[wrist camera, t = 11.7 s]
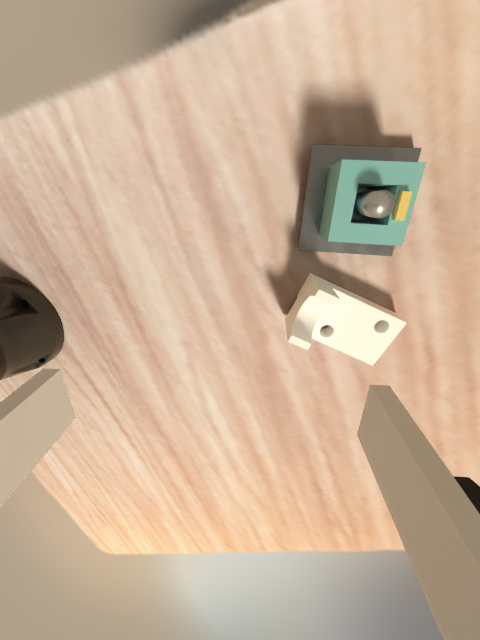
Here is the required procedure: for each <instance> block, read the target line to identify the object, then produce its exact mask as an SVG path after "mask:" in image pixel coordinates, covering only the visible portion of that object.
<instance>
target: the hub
mask: <svg viewBox="0 0 480 640" xmlns="http://www.w3.org/2000/svg"><path fill="white" fill-rule="evenodd" d="M425 164H426V162H398V161H371V160H344V159H342V160H340V161H339V162H337V163H336V164H334V165H332V166H331V167H330V168H329V174H328V180H327V187H326V193H325V199H324V205H323V212H322V218H321V224H320V230H319V235H320V236H321V237H323V238H324V239H325V240H327V241H330V242H345V243H361V244H377V245H393V246H402V245H403V241H404V238H405V234H406V231H407V227H408V224H409V220H410V216H411V213H412V209H413V206H414V202H415V199H416V195H417V192H418V188H419V185H420V181H421V178H422V174H423V171H424V167H425ZM358 187H364V188H375V191H379V190H387V191H390V192H391V193H392V194H393V195H394V197H395V206H394V208H393V210H392V211H391V213H390V214H388V215H387V216H385V217H383V218H374V217H369V218H368V221H358V220H351V218H352V214H353V209H354V204H355V199H356V194H357V189H358Z"/></svg>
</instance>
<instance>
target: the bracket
mask: <svg viewBox="0 0 480 640" xmlns="http://www.w3.org/2000/svg"><path fill="white" fill-rule="evenodd" d="M285 322H286V330H287V339H288V342H290V343H292V344H294V345H297V346H299V347H301V348H304V349H306V350H308V349H309V347H310V346H311V338H312V339H314V340H316V341H318V342H321V343H323V344H325V345H327V346H330V347H332V348H334V349H336V350H339V351H341V352H343V353H345V354H348V355H350V356H352V357H354V358H357V359H359V360H361V361H363V362H366V363H368V364H370V365H372V366H373V365H374V363H375V362H376V361H377V360H378V358H379V357H380V356H381V355H382V353H383V352H384V351H385V350H386V348H387V347H388V346H389V345H390V343H391V342H392V341H393V340H394V338H395V337H396V336H397V334H398V333H399V332H400V331H401V329H402V328H403V327H404V326H405V324H406V323H407V322H405V321H404V320H403V319H402V318H401V317H400V316H399V315H398V314H396V313H395V312H393V311H391V310H389V309H387V308H384V307H382V306H380V305H378V304H376V303H374V302H371V301H369V300H367V299H365V298H363V297H361V296H359V295H356V294H354V293H352V292H350V291H348V290H346V289H344V288H341V287H339V286H337V285H335V284H333V283H331V282H329V281H326V280H324V279H322V278H320V277H318V276H316V275H314V274H311V273H310V274H309V275H308V277H307V279H306V281H305V282H304V284H303V286H302V288H301V290H300V291H299V293H298V295H297V299H296V301H295V303H294V304H293V306H292V308H291V310H290V311H289V313H288V315H287V317H286V319H285ZM325 325H329V326H328V327H327V328H325V329H321V328H322V327H323V326H325Z"/></svg>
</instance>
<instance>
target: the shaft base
mask: <svg viewBox="0 0 480 640" xmlns="http://www.w3.org/2000/svg"><path fill="white" fill-rule="evenodd" d="M420 152H421V148H404V147H377V146H349V145H321V144H313V145H312V146H311V150H310V158H309V166H308V173H307V181H306V188H305V196H304V203H303V211H302V219H301V226H300V234H299V241H298V250H305V251H321V252H336V253H351V254H367V255H382V256H392V254H393V250H394V246H393V245H377V244H361V243H345V242H330V241H327V240H325V239H324V238H323V237H321V236H320V235H319V230H320V224H321V218H322V212H323V205H324V199H325V193H326V187H327V180H328V174H329V168H330V167H331V166H332V165H334V164H336V163H337V162H339V161H340V160H342V159H344V160H371V161H398V162H418V159H419V155H420ZM394 206H395V197H394V195H393V194H392V193H391V192H390V191H387V190H379V191H375V188H364V187H358V189H357V194H356V199H355V204H354V209H353V214H352V218H351V220H358V221H368V218H369V217H374V218H383V217H385V216H387V215H388V214H390V213H391V211H392V210H393V208H394Z"/></svg>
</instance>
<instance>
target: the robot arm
mask: <svg viewBox="0 0 480 640" xmlns="http://www.w3.org/2000/svg"><path fill="white" fill-rule="evenodd" d="M63 342H64V331H63V326H62V323H61V320H60V318H59V316H58V314H57V312H56V311H55V309H54V308H53V306H52V305H51V304H50V303H49V301H48V300H47V299H46V298H45V297H44V296H43V295H41V294H40V293H39V292H38V291H36V290H35V289H34V288H32V287H30V286H29V285H27V284H25V283H23V282H21V281H18V280H15V279H11V278H5V277H0V380H2V379H5V378H8V377H11V376H14V375H17V374H20V373H24V372H27V371H30V370H33V369H36V368H39V367H41V366H43V365H45V364H46V363H48V362H49V361H50V360H52V359H53V358H54V357H56V356H57V355H58V354H59V352H60V351H61V349H62V346H63ZM74 419H75V415H74V411H73V408H72V405H71V402H70V398H69V395H68V392H67V389H66V385H65V382H64V379H63V376H62V372H61V369H42V370H41V371H40V372H39V373H37V374H36V375H35V376H34V377H32V378H31V379H30V380H28V381H27V382H26V383H25V384H23V385H22V386H21V387H20V388H18V389H17V390H16V391H14V392H13V393H12V394H11V395H9V396H8V397H7V398H5V399H4V400H3V401H2V402H0V507H1V506H2V505H3V504H4V503H5V501H6V500H7V499H8V498H9V497H10V496H11V494H12V493H13V492H14V491H15V490H16V488H17V487H18V486H19V485H20V484H21V482H22V481H23V480H24V479H25V478H26V476H27V475H28V474H29V473H30V472H31V470H32V469H33V468H34V467H35V466H36V465H37V463H38V462H39V461H40V460H41V459H42V457H43V456H44V455H45V454H46V453H47V451H48V450H49V449H50V448H51V447H52V445H53V444H54V443H55V442H56V441H57V440H58V438H59V437H60V436H61V435H62V434H63V432H64V431H65V430H66V429H67V428H68V426H69V425H70V424H71V423H72V422H73V420H74ZM357 435H358V438H359V440H360V442H361V445H362V447H363V450H364V452H365V454H366V457H367V459H368V462H369V464H370V466H371V469H372V471H373V473H374V476H375V478H376V481H377V483H378V485H379V488H380V490H381V492H382V495H383V497H384V500H385V502H386V504H387V507H388V509H389V512H390V514H391V516H392V519H393V521H394V523H395V526H396V528H397V531H398V533H399V535H400V538H401V540H402V542H403V545H404V547H405V550H406V552H407V554H408V557H409V559H410V561H411V564H412V566H413V569H414V571H415V573H416V576H417V578H418V581H419V583H420V585H421V588H422V590H423V592H424V595H425V597H426V599H427V602H428V604H429V607H430V609H431V611H432V614H433V616H434V619H435V621H436V623H437V626H438V628H439V631H440V633H441V635H442V637H443V640H480V487H479V486H478V485H477V484H476V483H475V482H474V481H472V480H471V479H470V478H468V477H453V475H452V474H451V473H450V471H449V470H448V468H447V467H446V465H445V464H444V463H443V461H442V460H441V458H440V457H439V456H438V454H437V453H436V451H435V450H434V448H433V447H432V446H431V444H430V443H429V441H428V440H427V438H426V437H425V436H424V434H423V433H422V431H421V430H420V429H419V427H418V426H417V424H416V423H415V421H414V420H413V419H412V417H411V416H410V414H409V413H408V411H407V410H406V409H405V407H404V406H403V404H402V403H401V402H400V400H399V399H398V397H397V396H396V394H395V393H394V392H393V390H392V389H391V387H390V386H385V385H370V387H369V391H368V395H367V399H366V403H365V407H364V410H363V414H362V418H361V422H360V426H359V430H358V434H357Z"/></svg>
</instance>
